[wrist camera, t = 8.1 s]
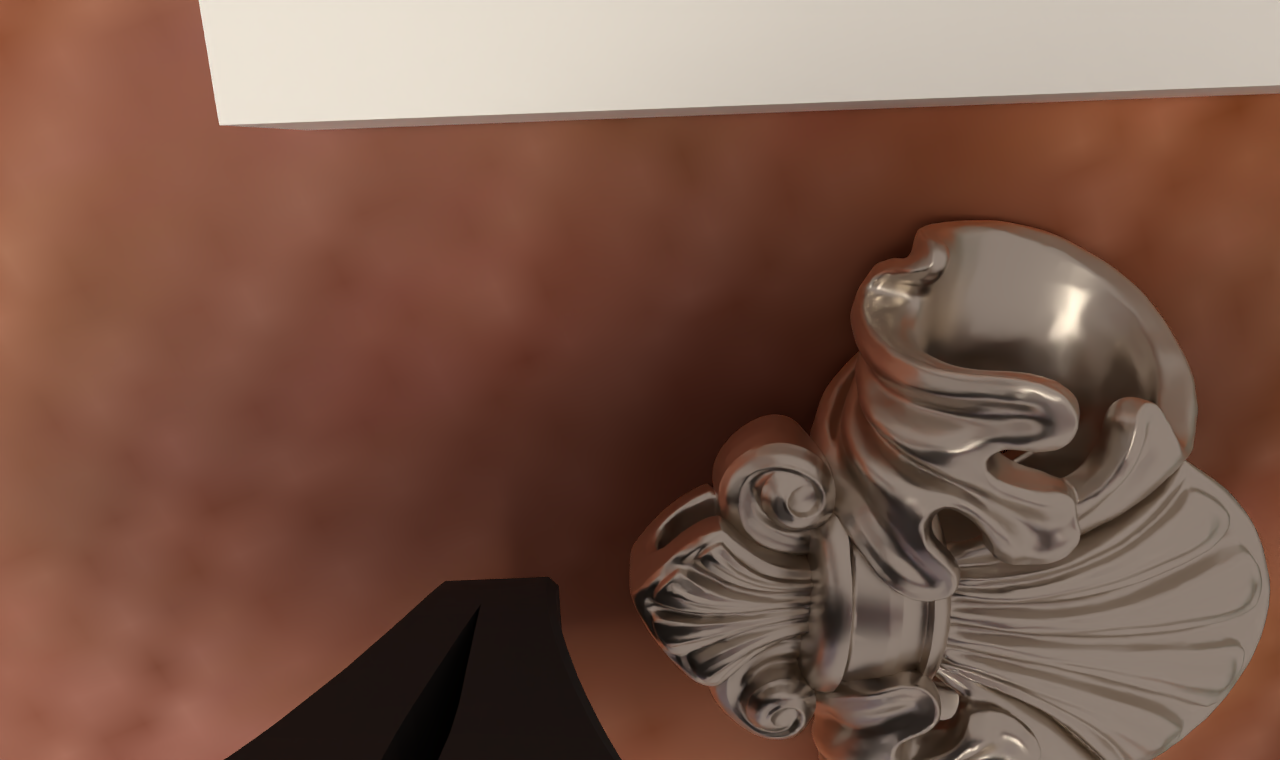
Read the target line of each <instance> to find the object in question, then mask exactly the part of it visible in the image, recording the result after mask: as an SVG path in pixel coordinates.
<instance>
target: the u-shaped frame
mask: <svg viewBox="0 0 1280 760" xmlns="http://www.w3.org/2000/svg"><path fill="white" fill-rule="evenodd" d="M199 5H200V11H201V17H202V23H203V29H204V35H205V41H206V47H207V53H208V59H209V65H210V71H211V77H212V83H213V90H214V96H215V102H216V108H217V114H218V120H219V125H225V126H243V127H261V128H278V129H296V130H327V129H354V128H380V127H407V126H433V125H459V124H486V123H512V122H539V121H565V120H592V119H618V118H644V117H671V116H697V115H724V114H750V113H776V112H803V111H829V110H856V109H882V108H909V107H935V106H961V105H988V104H1014V103H1041V102H1067V101H1094V100H1120V99H1146V98H1173V97H1199V96H1226V95H1252V94H1279V93H1280V0H199Z"/></svg>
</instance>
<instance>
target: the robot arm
mask: <svg viewBox="0 0 1280 760" xmlns="http://www.w3.org/2000/svg"><path fill="white" fill-rule="evenodd" d="M224 760H621V758H620V757H619V755H618V753H617V752H616V750H615V748H614V747H613V745H612V743H611V742H610V740H609V738H608V736H607V735H606V733H605V731H604V729H603V727H602V726H601V724H600V722H599V720H598V718H597V716H596V714H595V712H594V710H593V708H592V706H591V704H590V702H589V700H588V698H587V696H586V694H585V692H584V689H583V687H582V685H581V683H580V680H579V678H578V676H577V673H576V670H575V668H574V665H573V663H572V660H571V657H570V655H569V652H568V649H567V647H566V644H565V640H564V637H563V634H562V630H561V615H560V600H559V586H558V585H557V584H556V583H555V582H554V581H553V580H552V579H550V578H549V577H536V578H511V579H486V580H461V581H445V582H444V583H443V584H441V585H440V586H439V587H437V588H436V589H435V590H434V591H433V592H432V593H430V594H429V595H428V596H427V597H426V598H425V599H424V600H423V601H421V602H420V603H419V604H418V605H417V606H416V607H415V608H414V609H413V610H411V611H410V612H409V613H408V614H407V615H406V616H405V617H404V618H403V619H402V620H400V621H399V622H398V623H397V624H396V625H395V626H394V627H393V628H392V629H390V630H389V631H388V632H387V633H386V634H385V635H384V636H382V637H381V638H380V639H379V640H378V641H377V642H376V643H374V644H373V645H372V646H371V647H370V648H369V649H367V650H366V651H365V652H364V653H363V654H362V655H361V656H359V657H358V658H357V659H356V660H355V661H354V662H353V663H351V664H350V665H349V666H348V667H347V668H346V669H344V670H343V671H342V672H341V673H339V674H338V675H337V676H336V677H334V678H333V679H332V680H330V681H329V682H328V683H327V684H325V685H324V686H323V687H322V688H320V689H319V690H318V691H316V692H315V693H314V694H313V695H311V696H310V697H309V698H308V699H306V700H305V701H304V702H303V703H301V704H300V705H299V706H297V707H296V708H295V709H294V710H292V711H291V712H290V713H289V714H287V715H286V716H285V717H283V718H282V719H281V720H280V721H278V722H277V723H276V724H274V725H273V726H272V727H270V728H269V729H268V730H266V731H265V732H263V733H262V734H261V735H259V736H258V737H257V738H255V739H254V740H252V741H251V742H249V743H248V744H246V745H245V746H244V747H242V748H241V749H239V750H238V751H236V752H235V753H234V754H232V755H231V756H229V757H228V758H226V759H224Z"/></svg>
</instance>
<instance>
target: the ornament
mask: <svg viewBox="0 0 1280 760" xmlns="http://www.w3.org/2000/svg"><path fill="white" fill-rule="evenodd" d="M850 321H851V327H852V331H853V335H854V339H855V342H856V345H857V347H858V349H859V352H858V353H856V354H855V355H854V356H853V357H852V358H851V359H850V360H849V361H848V362H847V363H846V364H845V365H844V366H843V367H842V369H841V370H840V371H839V372H838V373H837V374H836V376H835V377H834V378H833V379H832V381H831V382H830V383H829V385H828V386H827V387H826V389H825V391H824V393H823V395H822V397H821V400H820V403H819V406H818V409H817V412H816V415H815V418H814V422H813V425H812V428H811V432H810V436H809V435H808V434H807V433H806V432H805V431H804V430H803V428H802V427H801V426H800V425H799V424H798V423H797V422H796V421H795V420H793V419H791V418H789V417H787V416H783V415H776V414H772V415H766V416H762V417H759V418H757V419H755V420H753V421H751V422H749V423H747V424H746V425H744V426H743V427H741V428H740V429H738V430H737V431H736V432H735V433H734V434H733V435H732V436H731V437H730V438H729V439H728V440H727V441H726V442H725V444H724V445H723V446H722V447H721V449H720V450H719V452H718V454H717V457H716V459H715V462H714V465H713V472H712V478H713V487H714V488H713V487H712V486H710V485H709V484H704V485H702V486H699V487H697V488H695V489H693V490H691V491H689V492H688V493H686V494H684V495H683V496H681V497H680V498H678V499H677V500H676V501H674V502H673V503H672V504H670V505H669V506H668V507H667V508H665V509H664V510H663V511H662V512H661V513H660V514H659V515H658V516H657V517H656V518H655V519H654V520H653V521H652V522H651V523H650V524H649V525H648V527H647V528H646V529H645V530H644V531H643V533H642V534H641V535H640V536H639V538H638V539H637V540H636V542H635V543H634V545H633V547H632V549H631V555H630V565H629V566H630V592H631V597H632V600H633V603H634V605H635V607H636V609H637V611H638V613H639V615H640V617H641V619H642V621H643V622H644V624H645V626H646V628H647V629H648V631H649V632H650V634H651V635H652V637H653V638H654V639H655V641H656V642H657V643H658V645H659V646H660V647H661V649H662V650H663V651H664V652H665V653H666V654H667V655H668V657H669V658H670V659H671V660H672V661H673V662H674V663H675V664H676V665H677V666H678V667H679V668H680V669H681V670H682V671H683V672H684V673H685V674H686V675H687V676H688V677H690V678H691V679H692V680H694V681H695V682H697V683H699V684H701V685H704V686H709V688H710V691H711V694H712V696H713V698H714V700H715V701H716V703H717V704H718V705H719V707H720V708H721V709H722V710H723V711H724V712H725V713H726V714H727V715H728V716H729V717H730V718H731V719H732V720H734V721H735V722H736V723H737V724H738V725H740V726H741V727H742V728H744V729H746V730H747V731H749V732H751V733H753V734H755V735H757V736H759V737H762V738H766V739H772V740H782V739H788V738H792V737H795V736H797V735H798V734H799V733H801V732H802V731H803V730H804V729H805V727H806V726H807V725H808V723H809V722H810V720H811V719H812V717H813V715H814V721H813V725H812V737H813V741H814V743H815V746H816V747H817V749H818V757H819V760H1152V759H1153V758H1155V757H1157V756H1158V755H1160V754H1162V753H1163V752H1165V751H1166V750H1168V749H1169V748H1170V747H1171V746H1173V745H1174V744H1176V743H1178V742H1179V741H1180V740H1182V739H1183V738H1184V737H1185V736H1186V735H1187V734H1189V733H1190V732H1191V731H1192V730H1193V729H1194V728H1195V727H1197V726H1198V725H1199V724H1200V723H1202V722H1203V721H1204V720H1205V719H1206V718H1207V717H1208V716H1209V715H1210V714H1211V713H1212V712H1213V711H1214V710H1215V709H1216V707H1217V706H1218V705H1219V704H1220V703H1221V702H1222V701H1223V699H1224V698H1225V697H1226V696H1227V695H1228V693H1229V692H1230V690H1231V689H1232V688H1233V686H1234V685H1235V683H1236V682H1237V680H1238V679H1239V677H1240V676H1241V674H1242V673H1243V671H1244V670H1245V668H1246V667H1247V665H1248V664H1249V662H1250V660H1251V658H1252V656H1253V654H1254V652H1255V650H1256V647H1257V645H1258V643H1259V640H1260V638H1261V635H1262V631H1263V628H1264V625H1265V621H1266V617H1267V611H1268V607H1269V596H1270V580H1269V574H1268V569H1267V564H1266V559H1265V555H1264V550H1263V547H1262V544H1261V541H1260V538H1259V536H1258V533H1257V531H1256V529H1255V527H1254V525H1253V523H1252V521H1251V519H1250V518H1249V516H1248V514H1247V513H1246V512H1245V510H1244V509H1243V508H1242V507H1241V505H1240V504H1239V503H1238V502H1237V500H1236V499H1235V498H1234V497H1233V496H1232V495H1231V494H1230V493H1229V491H1228V490H1227V489H1225V488H1224V487H1223V486H1222V485H1221V484H1219V483H1218V482H1217V481H1216V480H1214V479H1213V478H1211V477H1210V476H1209V475H1207V474H1206V473H1204V472H1203V471H1201V470H1200V469H1198V468H1197V467H1195V466H1194V465H1192V464H1191V463H1189V462H1188V461H1187V460H1186V459H1187V458H1188V457H1189V455H1190V454H1191V452H1192V450H1193V445H1194V439H1195V434H1196V421H1197V417H1198V402H1197V396H1196V388H1195V381H1194V376H1193V374H1192V371H1191V368H1190V366H1189V363H1188V361H1187V359H1186V357H1185V355H1184V353H1183V351H1182V349H1181V347H1180V346H1179V344H1178V342H1177V341H1176V339H1175V337H1174V335H1173V333H1172V332H1171V330H1170V328H1169V327H1168V325H1167V324H1166V322H1165V321H1164V319H1163V318H1162V316H1161V315H1160V314H1159V312H1158V311H1157V309H1156V308H1155V307H1154V305H1153V304H1152V303H1151V302H1150V300H1149V299H1148V298H1147V297H1146V296H1145V295H1144V294H1143V292H1142V291H1141V290H1140V289H1139V288H1138V287H1137V286H1136V285H1135V284H1134V283H1132V282H1131V281H1130V280H1129V279H1128V278H1127V277H1125V276H1124V275H1123V274H1122V273H1120V272H1119V271H1118V270H1117V269H1115V268H1114V267H1112V266H1111V265H1110V264H1108V263H1107V262H1105V261H1104V260H1102V259H1100V258H1099V257H1097V256H1095V255H1093V254H1092V253H1090V252H1088V251H1086V250H1085V249H1083V248H1081V247H1080V246H1078V245H1076V244H1074V243H1072V242H1070V241H1068V240H1066V239H1064V238H1062V237H1060V236H1058V235H1055V234H1053V233H1050V232H1047V231H1044V230H1041V229H1037V228H1034V227H1030V226H1025V225H1020V224H1015V223H1010V222H1004V221H996V220H964V221H950V222H942V223H933V224H930V225H926V226H924V227H922V228H920V229H918V231H917V233H916V236H915V238H914V242H913V247H912V251H911V253H910V255H909V256H908V257H906V258H891V259H888V260H885V261H882V262H879V263H877V264H876V265H875V266H874V267H873V268H872V269H871V271H870V272H869V274H868V275H867V277H866V278H865V280H864V281H863V282H862V284H861V285H860V287H859V289H858V290H857V293H856V296H855V299H854V303H853V305H852V309H851V314H850ZM1003 450H1008V451H1007V452H1005V453H1003V454H1001V453H1000V452H999V451H1003ZM814 713H815V714H814Z"/></svg>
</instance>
